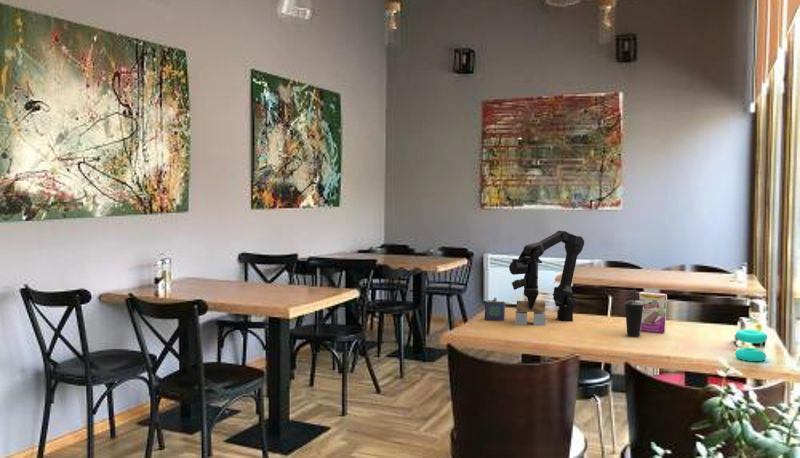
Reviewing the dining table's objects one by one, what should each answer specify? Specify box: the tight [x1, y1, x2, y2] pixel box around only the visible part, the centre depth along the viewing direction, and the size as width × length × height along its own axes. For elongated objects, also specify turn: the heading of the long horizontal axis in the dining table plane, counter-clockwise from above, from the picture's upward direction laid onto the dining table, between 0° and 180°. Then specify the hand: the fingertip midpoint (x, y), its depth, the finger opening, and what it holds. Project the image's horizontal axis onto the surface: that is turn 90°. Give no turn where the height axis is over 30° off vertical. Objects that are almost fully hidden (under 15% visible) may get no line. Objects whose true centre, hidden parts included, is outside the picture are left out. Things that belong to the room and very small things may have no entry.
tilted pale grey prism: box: [514, 310, 528, 326], centre depth 306 cm, size 5×5×5 cm
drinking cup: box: [624, 287, 644, 338], centre depth 284 cm, size 8×8×20 cm
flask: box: [484, 297, 506, 322], centre depth 313 cm, size 9×3×11 cm, turn 88°
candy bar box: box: [638, 291, 668, 334], centre depth 293 cm, size 11×5×16 cm, turn 65°
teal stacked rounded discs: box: [734, 329, 768, 362], centre depth 247 cm, size 10×10×10 cm
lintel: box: [516, 300, 546, 313], centre depth 305 cm, size 12×5×4 cm, turn 85°
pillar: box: [533, 311, 546, 327], centre depth 305 cm, size 5×5×5 cm
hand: (530, 308), depth 305 cm, fingers closed on lintel, 5 cm apart
